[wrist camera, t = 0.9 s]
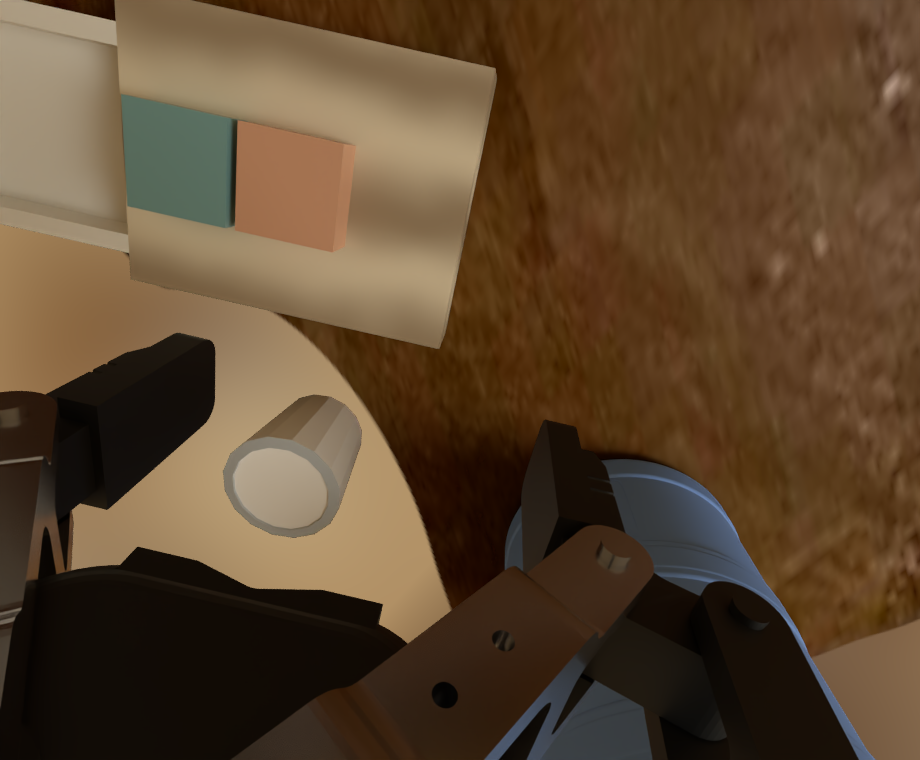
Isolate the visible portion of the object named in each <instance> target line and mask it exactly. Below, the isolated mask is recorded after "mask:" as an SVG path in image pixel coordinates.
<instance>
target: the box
mask: <svg viewBox="0 0 920 760" xmlns="http://www.w3.org/2000/svg"><path fill="white" fill-rule="evenodd" d="M0 224H3V225H7V226H12V227H16V228H21V229H25V230H29V231H34V232H38V233H43V234H47V235H51V236H56V237H61V238H65V239H69V240H74V241H78V242H83V243H87V244H91V245H96V246H100V247H104V248H109V249H114V250H118V251H122V252H127V253H129V242H128V224H127V207H126V190H125V172H124V155H123V138H122V121H121V103H120V86H119V69H118V52H117V34H116V21H112V20H108V19H104V18H99V17H95V16H90V15H86V14H81V13H77V12H72V11H68V10H63V9H59V8H54V7H50V6H46V5H41V4H37V3H32V2H28V1H23V0H0Z"/></svg>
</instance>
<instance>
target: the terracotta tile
mask: <svg viewBox="0 0 920 760" xmlns="http://www.w3.org/2000/svg"><path fill="white" fill-rule="evenodd" d="M355 150H356V145H351V144H347V143H343V142H338V141H334V140H329V139H325V138H320V137H316V136H311V135H307V134H303V133H298V132H294V131H289V130H285V129H280V128H276V127H271V126H267V125H262V124H258V123H252V122H246V121H240V120H238V125H237V166H236V206H235V231H239V232H244V233H248V234H253V235H257V236H262V237H266V238H270V239H275V240H279V241H284V242H288V243H293V244H297V245H301V246H306V247H310V248H315V249H319V250H324V251H328V252H335V251H337V250H339V249H341V248H343V247H345V240H346V231H347V222H348V213H349V204H350V195H351V186H352V177H353V168H354V159H355Z"/></svg>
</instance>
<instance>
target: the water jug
mask: <svg viewBox="0 0 920 760" xmlns="http://www.w3.org/2000/svg"><path fill="white" fill-rule="evenodd" d="M602 463H603V464H604V465H605V466H606V469H607V472H608V475H609V479H610V484H611V485H612V489H613V492H614V494H613V496H615V499H616V502H617V506H618V509H619V512H620V516H621V519H622V523H623V526H624V529H625V533H626V534H627V535H629V536H631V537H632V538H634V539H635V540H636V541H638V542H639V543H640V544H641V545H642V546H643V547H644V548H645V549H646V551H647V552H648V553H649V555H650V557H651V559H652V561H653V564H654V573H655V574H657V575H658V576H660V577H662V578H663V579H665V580H667V581H669V582H671V583H673V584H675V585H678V586H680V587H682V588H684V589H686V590H688V591H690V592H692V593H695V594H697V595H699V596H700V595H701V593H702V592H703V590H704V588H705V587H706V585H708V584H709V583H711V582H714V581H726V582H731V583H735V584H738V585H740V586H743V587H745V588H747V589H749V590H751V591H753V592H755V593H756V594H758V595H759V596H761V597H762V598H764V599H765V600H766V601H767V602H769V603H770V604H771V605H772V606H773V607H774V608H775V609H776V610H777V611H778V612H779V613H780V614H781V615H782V616H783V618H784V619H785V620H786V622H787V623H788V625H789V627H790V628H791V630H792V632H793V634H794V636H795V638H796V640H797V642H798V644H799V646H800V648H801V649H802V651H803V653H804V655H805V657H806V659H807V661H808V663H809V665H810V667H811V669H812V671H813V672H814V674H815V676H816V678H817V680H818V682H819V684H820V686H821V688H822V690H823V692H824V694H825V695H826V697H827V699H828V701H829V703H830V705H831V707H832V709H833V711H834V713H835V715H836V717H837V718H838V720H839V722H840V724H841V726H842V728H843V730H844V732H845V734H846V736H847V738H848V740H849V741H850V743H851V745H852V747H853V749H854V751H855V753H856V755H857V757H858V759H859V760H875V759H874V758H873V757H872V755H871V754H870V753H869V752H868V751H867V749H866V748H865V746H864V744H863V743H862V741H861V739H860V738H859V736H858V735H857V733H856V731H855V730H854V728H853V726H852V725H851V723H850V721H849V720H848V718H847V716H846V715H845V713H844V711H843V710H842V708H841V707H840V705H839V703H838V702H837V700H836V698H835V697H834V695H833V693H832V692H831V690H830V689H829V687H828V685H827V683H826V682H825V680H824V679H823V677H822V675H821V674H820V672H819V670H818V669H817V667H816V665H815V664H814V662H813V660H812V659H811V657H810V655H809V654H808V652H807V649H806V646H805V644H804V642H803V640H802V638H801V636H800V634H799V632H798V630H797V628H796V626H795V625H794V623H793V621H792V620H791V618H790V617H789V615H788V613H787V612H786V610H785V608H784V607H783V605H782V604H781V602H780V601H779V599H778V598H777V597H776V595H775V594H774V593H773V591H772V590H771V589H770V588H769V587H768V586H767V584H766V583H765V581H764V580H763V578H762V577H761V575H760V573H759V572H758V570H757V568H756V567H755V565H754V563H753V562H752V560H751V558H750V557H749V555H748V554H747V552H746V550H745V549H744V547H743V545H742V544H741V542H740V540H739V537H738V534H737V532H736V530H735V528H734V526H733V524H732V522H731V521H730V519H729V518H728V516H727V514H726V513H725V511H724V509H723V508H722V506H721V505H720V504H719V502H718V501H717V500H716V499H715V497H714V496H713V495H712V494H711V493H710V492H709V491H708V490H707V489H705V488H704V487H703V486H702V485H701V484H699V483H698V482H696V481H695V480H694V479H692V478H690V477H689V476H687V475H685V474H683V473H681V472H679V471H677V470H675V469H672V468H669V467H667V466H664V465H660V464H657V463H652V462H648V461H641V460H631V459H612V460H602ZM512 566H517V567H518V568H519V569H521V570H522V571H523V552H522V511H521V507H520V508H519V509H518V511H517V513H516V514H515V516H514V518H513V520H512V522H511V525H510V527H509V530H508V534H507V538H506V545H505V570H506V569H507V568H509V567H512ZM541 760H653V759H652V754H651V748H650V742H649V737H648V731H647V725H646V720H645V714H644V709H643V707H642V706H640V705H639V704H637V703H635V702H633V701H631V700H630V699H628V698H626V697H624V696H622V695H621V694H619V693H617V692H615V691H613V690H612V689H610V688H608V687H606V686H604V685H603V684H601V683H599V682H598V683H597V685H596V686H595V687H594V689H593V690H592V691H591V693H590V694H589V695H588V697H587V698H586V699H585V701H584V702H583V703H582V705H581V706H580V707H579V709H578V710H577V711H576V712H575V714H574V715H573V716H572V718H571V719H570V720H569V722H568V723H567V724H566V726H565V727H564V728H563V730H562V731H561V732H560V734H559V735H558V736H557V738H556V739H555V740H554V741H553V743H552V744H551V745H550V747H549V748H548V749H547V751H546V752H545V754H544V755H543V757H542V758H541Z"/></svg>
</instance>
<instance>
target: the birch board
mask: <svg viewBox="0 0 920 760" xmlns="http://www.w3.org/2000/svg"><path fill="white" fill-rule="evenodd" d="M115 17H116V34H117V52H118V69H119V86H120V103H121V94H124V95H130V96H135V97H141V98H146V99H151V100H156V101H160V102H165V103H169V104H173V105H178V106H182V107H187V108H191V109H196V110H200V111H205V112H209V113H214V114H218V115H222V116H227V117H231V118H236V119H240V120H245V121H248V122H252V123H258V124H262V125H267V126H271V127H276V128H280V129H285V130H289V131H294V132H298V133H303V134H307V135H311V136H316V137H320V138H325V139H329V140H334V141H338V142H343V143H347V144H351V145H356V150H355V159H354V168H353V177H352V186H351V195H350V204H349V213H348V222H347V231H346V240H345V247H343V248H341V249H339V250H337V251H335V252H328V251H324V250H319V249H315V248H310V247H306V246H301V245H297V244H293V243H288V242H284V241H279V240H275V239H270V238H266V237H262V236H257V235H253V234H248V233H244V232H239V231H235V226H233V227H229V228H222V227H217V226H213V225H208V224H204V223H200V222H195V221H191V220H186V219H182V218H177V217H173V216H169V215H164V214H160V213H155V212H151V211H146V210H142V209H138V208H133V207H129V206H127V190H126V173H125V190H126V207H127V224H128V242H129V259H130V276H131V279H132V280H137V281H141V282H145V283H150V284H154V285H158V286H163V287H167V288H171V289H176V290H180V291H185V292H189V293H194V294H198V295H203V296H207V297H211V298H216V299H221V300H225V301H229V302H233V303H238V304H242V305H247V306H252V307H256V308H260V309H264V310H269V311H273V312H278V313H282V314H286V315H291V316H295V317H300V318H304V319H308V320H313V321H317V322H322V323H326V324H331V325H335V326H339V327H344V328H348V329H353V330H357V331H361V332H366V333H370V334H375V335H379V336H384V337H388V338H392V339H397V340H401V341H406V342H410V343H415V344H419V345H423V346H428V347H432V348H437V349H439V348H440V345H441V342H442V340H443V337H444V335H445V332H446V327H447V322H448V317H449V312H450V307H451V302H452V297H453V292H454V287H455V282H456V277H457V272H458V268H459V263H460V258H461V253H462V248H463V243H464V238H465V233H466V228H467V223H468V218H469V213H470V209H471V204H472V199H473V194H474V189H475V184H476V179H477V174H478V169H479V164H480V159H481V154H482V150H483V145H484V140H485V135H486V130H487V125H488V120H489V115H490V110H491V105H492V100H493V95H494V91H495V86H496V81H497V76H496V70H495V68H491V67H487V66H482V65H478V64H474V63H469V62H465V61H460V60H456V59H451V58H447V57H442V56H438V55H433V54H429V53H424V52H420V51H415V50H411V49H407V48H402V47H398V46H393V45H389V44H384V43H380V42H375V41H371V40H366V39H362V38H357V37H353V36H348V35H344V34H340V33H335V32H331V31H326V30H322V29H317V28H313V27H308V26H304V25H299V24H295V23H290V22H286V21H281V20H277V19H273V18H268V17H264V16H259V15H255V14H250V13H246V12H241V11H237V10H232V9H228V8H223V7H219V6H214V5H210V4H206V3H201V2H197V1H192V0H115ZM121 121H122V103H121ZM122 138H123V121H122ZM123 155H124V138H123ZM124 172H125V155H124Z"/></svg>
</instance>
